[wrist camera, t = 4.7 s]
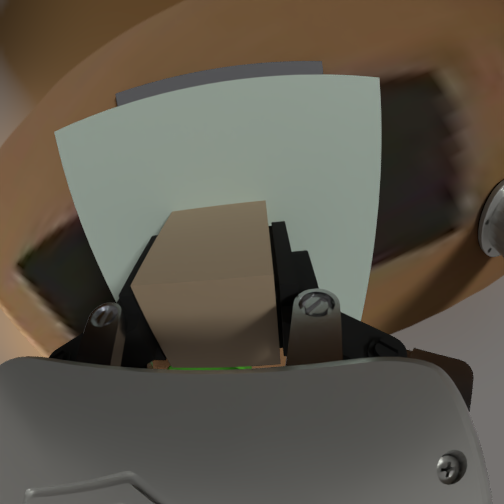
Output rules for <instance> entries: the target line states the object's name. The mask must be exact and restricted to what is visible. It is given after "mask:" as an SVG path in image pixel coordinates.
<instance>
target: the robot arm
mask: <svg viewBox="0 0 504 504" xmlns="http://www.w3.org/2000/svg"><path fill="white" fill-rule="evenodd" d="M271 223H272V226H268V227H269V236H270V245H271V254H272V264H273V274H274V285H275V297H276V310H277V322H278V336H279V348H283V352H284V356H286V357H287V358H286V366H283V367H271V368H256V369H234V370H166V369H153V363H152V361H153V360H166V356H165V354H164V352H163V350H162V349H161V347H160V345H159V343H158V341H157V339H156V337H155V335H154V334H153V332H152V330H151V328H150V326H149V324H148V322H147V320H146V318H145V316H144V314H143V312H142V310H141V308H140V305H139V303H138V301H137V299H136V297H135V295H134V293H133V290H132V288H131V284H132V282H133V280H134V278H135V276H136V274H137V272H138V270H139V268H140V267H141V265H142V263H143V261H144V259H145V257H146V256H147V254H148V252H149V250H150V248H151V247H152V245H153V243H154V241H155V240H156V238H157V236H158V235H154V236H152V237H151V239H150V240H149V242H148V244H147V245H146V247H145V249H144V251H143V252H142V254H141V256H140V257H139V259H138V261H137V263H136V264H135V266H134V268H133V270H132V272H131V273H130V275H129V277H128V279H127V281H126V282H125V284H124V286H123V288H122V290H121V292H120V294H119V299H118V301H117V303H113V302H111V303H105V304H102V305H100V306H98V307H97V308H96V309H94V310H93V312H92V313H91V314H90V316H89V318H88V321H87V324H86V327H85V330H84V333H82V334H80V335H79V336H77V337H76V338H74V339H72V340H71V341H69V342H68V343H66V344H64V345H63V346H61V347H60V348H58V349H57V350H55V351H54V352H53V353H52V354H51V355H50V357H49V358H45V357H30V356H27V357H18V358H14V359H11V360H8V361H6V362H4V363H3V364H1V365H0V504H492V495H491V488H490V483H489V478H488V473H487V468H486V465H485V460H484V456H483V452H482V448H481V445H480V441H479V438H478V435H477V432H476V429H475V427H474V424H473V421H472V418H471V416H470V413H469V412H470V405H471V397H472V389H473V371H472V369H471V367H470V366H469V365H468V364H467V363H466V362H464V361H462V360H459V359H455V358H451V357H447V356H443V355H439V354H435V353H431V352H427V351H424V350H420V349H416V348H414V349H413V351H410V350H406V348H405V346H404V345H403V343H402V342H401V341H400V340H398V339H396V338H395V337H393V336H391V335H389V334H386V333H384V332H382V331H380V330H378V329H376V328H374V327H372V326H370V325H367V324H365V323H363V322H361V321H359V320H357V319H355V318H353V317H351V316H348V315H346V314H344V313H342V312H341V311H340V302H339V299H338V298H337V296H336V295H335V294H333V293H332V292H330V291H328V290H325V289H319V287H318V283H317V280H316V276H315V273H314V270H313V266H312V263H311V260H310V256H309V253H308V251H307V250H304V251H293V252H292V251H291V246H290V242H289V237H288V233H287V228H286V224H285V221H280V222H271ZM478 240H479V244H480V247H481V249H482V250H483V251H484V252H485V253H486V254H487V255H488V256H490V257H496V256H499V255H502V256H503V257H504V180H503V181H501V182H500V183H499V184H498V185H497V186H496V187H495V189H494V190H493V191H492V193H491V194H490V196H489V198H488V200H487V202H486V204H485V206H484V209H483V211H482V214H481V218H480V222H479V228H478Z"/></svg>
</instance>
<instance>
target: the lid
mask: <svg viewBox="0 0 504 504" xmlns="http://www.w3.org/2000/svg"><path fill="white" fill-rule="evenodd" d="M55 137H56V141H57V145H58V150H59V154H60V157H61V161H62V165H63V169H64V172H65V176H66V179H67V182H68V186H69V189H70V192H71V195H72V198H73V201H74V204H75V207H76V210H77V213H78V215H79V218H80V221H81V224H82V226H83V229H84V232H85V234H86V237H87V239H88V242H89V244H90V246H91V249H92V251H93V254H94V256H95V258H96V261H97V263H98V265H99V267H100V270H101V272H102V274H103V276H104V278H105V280H106V282H107V284H108V287H109V289H110V291H111V293H112V295H113V297H114V299H115V301H116V303H117V301H118V299H119V294H120V292H121V290H122V288H123V286H124V284H125V282H126V281H127V279H128V277H129V275H130V273H131V272H132V270H133V268H134V266H135V264H136V263H137V261H138V259H139V257H140V256H141V254H142V252H143V251H144V249H145V247H146V245H147V244H148V242H149V240H150V239H151V237H152V236H154V235H158V236H157V238H156V240H155V241H154V243H153V245H152V247H151V248H150V250H149V252H148V254H147V256H146V257H145V259H144V261H143V263H142V265H141V267H140V268H139V270H138V272H137V274H136V276H135V278H134V280H133V282H132V284H131V288H132V290H133V293H134V295H135V297H136V299H137V301H138V303H139V305H140V308H141V310H142V312H143V314H144V316H145V318H146V320H147V322H148V324H149V326H150V328H151V330H152V332H153V334H154V335H155V337H156V339H157V341H158V343H159V345H160V347H161V349H162V350H163V352H164V354H165V356H166V358H167V359H168V361H169V363H170V365H171V366H172V368H222V367H246V366H262V365H275V364H281V363H280V349H279V336H278V322H277V310H276V297H275V285H274V274H273V264H272V254H271V245H270V236H269V227H268V226H272V223H271V222H280V221H285V224H286V228H287V233H288V237H289V242H290V246H291V251H292V252H293V251H304V250H307V251H308V253H309V256H310V260H311V263H312V266H313V270H314V273H315V276H316V280H317V283H318V287H319V289H325V290H328V291H330V292H332V293H333V294H335V295H336V296H337V298H338V299H339V302H340V311H341V312H342V313H344V314H346V315H348V316H351V317H353V318H355V319H357V320H359V321H361V317H362V312H363V307H364V302H365V297H366V292H367V286H368V281H369V275H370V269H371V262H372V255H373V248H374V241H375V232H376V223H377V213H378V202H379V188H380V170H381V100H380V83H379V78H376V77H365V76H351V75H282V76H267V77H256V78H246V79H238V80H230V81H223V82H217V83H211V84H205V85H200V86H194V87H189V88H185V89H180V90H175V91H171V92H167V93H163V94H159V95H155V96H151V97H148V98H144V99H141V100H137V101H134V102H131V103H127V104H124V105H121V106H118V107H115V108H112V109H109V110H107V111H104V112H101V113H98V114H96V115H93V116H90V117H88V118H85V119H83V120H80V121H78V122H76V123H73V124H71V125H69V126H66V127H64V128H62V129H60V130H57V131H55Z"/></svg>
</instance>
